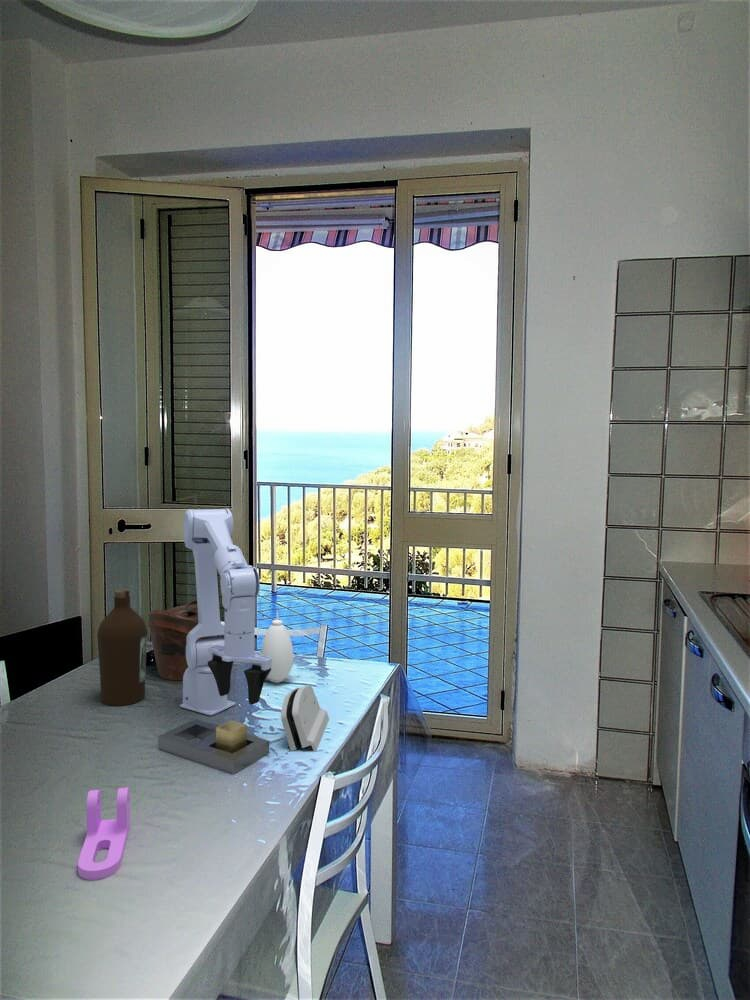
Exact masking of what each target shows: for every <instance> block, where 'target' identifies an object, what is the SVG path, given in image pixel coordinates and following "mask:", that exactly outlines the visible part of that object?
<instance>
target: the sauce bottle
mask: <svg viewBox="0 0 750 1000" xmlns="http://www.w3.org/2000/svg"><path fill="white" fill-rule="evenodd" d="M275 616H276V617H275V619H274V620H271V625H270V626H269V628H268V629H267V631H266V632H265V634H264V636H263V639H262V643H261V647H260V654H262V655H264V656H266V657H269V658H272V668H271V671H270V673H269V674H268V676H267V678H266V679H268V680H269V682H272V683H274V684H279V683H281V682H283V681H284V680H285V679H286V678H287V677H289V674H290V673H291V671H292V668H293V665H294V648H293V643H292V639H291V637H290V634H289V631H288V630H287V628H286V626H284V622H283V620H280V619H279V611H278V610H276V615H275Z"/></svg>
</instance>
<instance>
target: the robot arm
mask: <svg viewBox="0 0 750 1000" xmlns="http://www.w3.org/2000/svg"><path fill="white" fill-rule="evenodd" d="M182 522H183V523H182V527H183V541H184V542H183V543H184V545H185V547H186V548H187V549H190V550H192V555H193V558H194V570H195V573H194V574H195V588H196V601H197V606H198V625H197V626H196V627H194V628H193V629H192V630H191V631H190V632H189V633H188V635H187V637H186V641H187V644H186V660H187V664H188V666H189V667H188V668H187V669H186V671H185V673H184V676H183V680H182V703H181V704H180V705H179V707H180V708H183V709H186V710H190V711H194V712H198V713H199V714H203V715H207V716H214V715H216V714H218V713H220V712H223V711H225V710H226V709H229V708H230V707H233V706H235V705H236V702H235V701H232V700H228V694H230V691H231V676H232V669H233V665H234V663H235V662H236V663H239V664H243V665H245V666H246V665H247V666H250V668H248V669H244V670H243V673H244V676H245V680H246V685H247V691H248V694H247V697H248V703H249V705H251V706H253V705H255V704H257V703H259V702H260V699H261V694H262V690H263V687H264V684H265V683H266V680H267V679H268V678H267V676H268V674H269V673H270V671H271V668H272V658H269V657H266V656H264V655H262V654H261V652H258V651H256V650H255V634H256V633H255V630H256V629H255V625H256V624H255V622H256V621H255V620H256V619H255V617H256V613H255V611H256V610H255V609H256V607H255V606H256V600H255V599H256V598H257V597H258V596H259V593H260V588H261V585H260V582H261V581H260V575H259V572H258V569H257V567H255V566H252V565H249V564H248V563H247V561H246V558H245V556H244V554H243V552H242V549H241V548H240V547H239V546H237V544H236V545H235V544H234V543H233V540H232V538H231V535H232V533H233V530H234V517H233V513H232V512H231V510H230V509H229V508H222V509H221V508H218V509H213V508H212V509H190V508H189V509H187V510H186V511H185V513H184V514H183V521H182ZM218 574H219V576H220V591H221V600H222V601H221V603H222V607H223V608H224V624H223V623H222V622H221V623H220V619H221V615H220V614H221V613H220V600H219V598H220V597H219V585H218V583H219V581H218ZM215 635H217V637H216V638H208V639H200V640H197V639H198V638H200V637H206V636H215ZM218 636H219V637H218Z"/></svg>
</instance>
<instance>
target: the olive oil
mask: <svg viewBox="0 0 750 1000" xmlns="http://www.w3.org/2000/svg"><path fill="white" fill-rule="evenodd" d="M113 598H114V599H113V601H114V602H113V603H114V606H113V608H112V610H111V611H110V612H109V613H108V614H107V615H106V616H105V617H104V618H103V619H102V621H101V622H100V624H99V626H98V628H97V629H98V630H97V633H96V634H97V635H96V637H97V649H98V662H99V663H98V665H99V678H100V679H99V681H100V700H101V703H103V704H104V705H106V706H107V705H108V706H112V707H113V706H115V707H119V706H128V705H132V704H136V703H138V702H140V701H142V700H143V699H144V698H145V695H146V667H147V645H148V643H147V642H148V629H147V627H148V626H147V624H146V622H145V620H144V619H143V617H142V616H141V615H140V614H138V613H137V611H135V610H134V609H133V607H131V596H130V590H129V589H127V588H121V589H120V588H119V589H116V590H115V591H114V596H113Z"/></svg>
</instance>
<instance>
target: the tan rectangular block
mask: <svg viewBox="0 0 750 1000" xmlns="http://www.w3.org/2000/svg"><path fill="white" fill-rule="evenodd" d="M247 734H248V725H247V724H245V723H243V722H238V721H235V720H232V719H230V720H227V721H226V722H224V723H222V724H220V725H218V727H216V749H219V750H222V751H226V752H229V753H232V754H233V753H235V752H237V751H239V750H240V749H242V748H244V747H246V746H247Z"/></svg>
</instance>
